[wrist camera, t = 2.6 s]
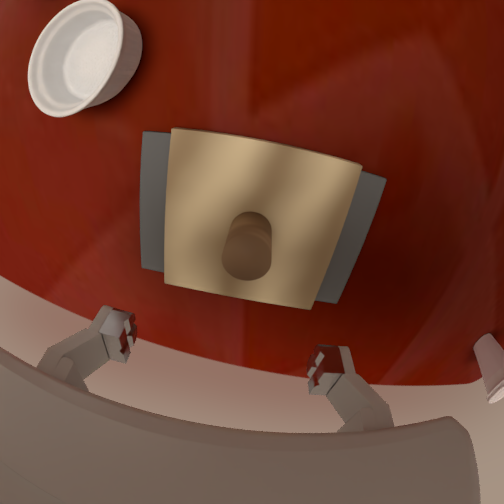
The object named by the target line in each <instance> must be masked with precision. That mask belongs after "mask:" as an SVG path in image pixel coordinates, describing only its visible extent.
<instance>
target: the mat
mask: <svg viewBox="0 0 504 504" xmlns="http://www.w3.org/2000/svg"><path fill="white" fill-rule="evenodd" d="M170 140H171V133H167V132H155V131H143V139H142V153H141V173H140V243H141V264H142V268H145V269H150V270H154V271H159V272H164V237H165V206H166V188H167V173H168V161H169V150H170ZM386 180H387V179H386V178H384V177H381V176H378V175H375V174H371V173H368V172H365V171H362V170H361V173H360V176H359V180H358V183H357V186H356V189H355V192H354V195H353V198H352V201H351V205H350V208H349V210H348V213H347V216H346V219H345V222H344V225H343V228H342V231H341V234H340V236H339V239H338V242H337V245H336V247H335V250H334V253H333V255H332V258H331V261H330V263H329V266H328V268H327V271H326V273H325V276H324V278H323V281H322V283H321V286H320V288H319V291H318V293H317V296H316V298H315V300H316V301H322V302H329V303H336V304H337V302H338V300H339V298H340V296H341V293H342V291H343V289H344V287H345V285H346V283H347V280H348V278H349V276H350V274H351V271H352V269H353V267H354V264H355V262H356V260H357V257H358V255H359V253H360V250H361V248H362V245H363V243H364V240H365V238H366V235H367V233H368V230H369V228H370V225H371V223H372V220H373V217H374V215H375V212H376V209H377V206H378V204H379V201H380V198H381V195H382V192H383V189H384V186H385V183H386Z"/></svg>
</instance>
